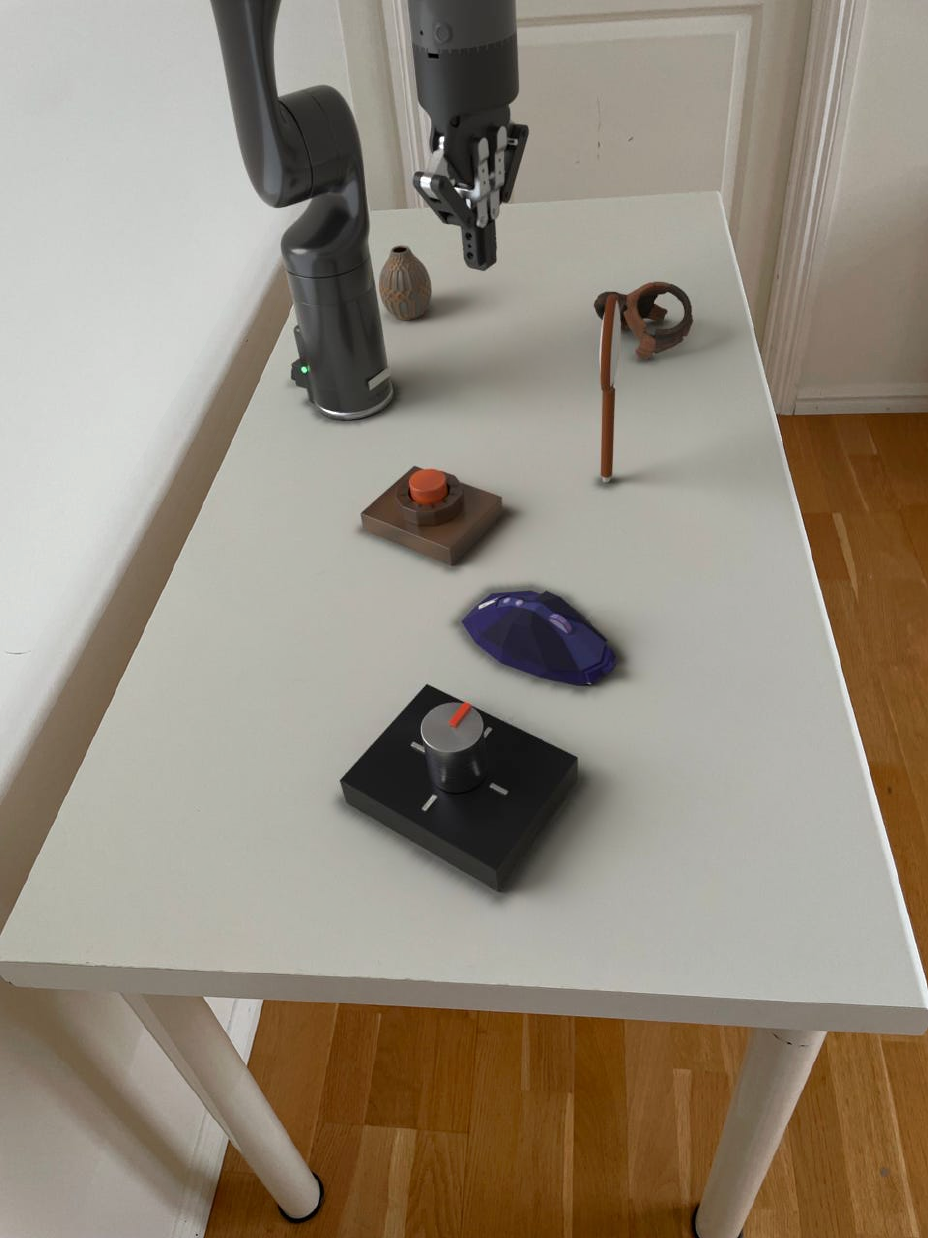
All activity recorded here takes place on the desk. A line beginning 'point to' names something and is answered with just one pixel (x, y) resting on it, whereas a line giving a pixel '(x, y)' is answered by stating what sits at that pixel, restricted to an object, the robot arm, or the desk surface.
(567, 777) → the panel
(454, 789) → the hob knob
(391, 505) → the block
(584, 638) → the computer mouse
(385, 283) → the vase
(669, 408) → the desk surface
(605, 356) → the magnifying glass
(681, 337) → the brown ring sculpture
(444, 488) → the button
